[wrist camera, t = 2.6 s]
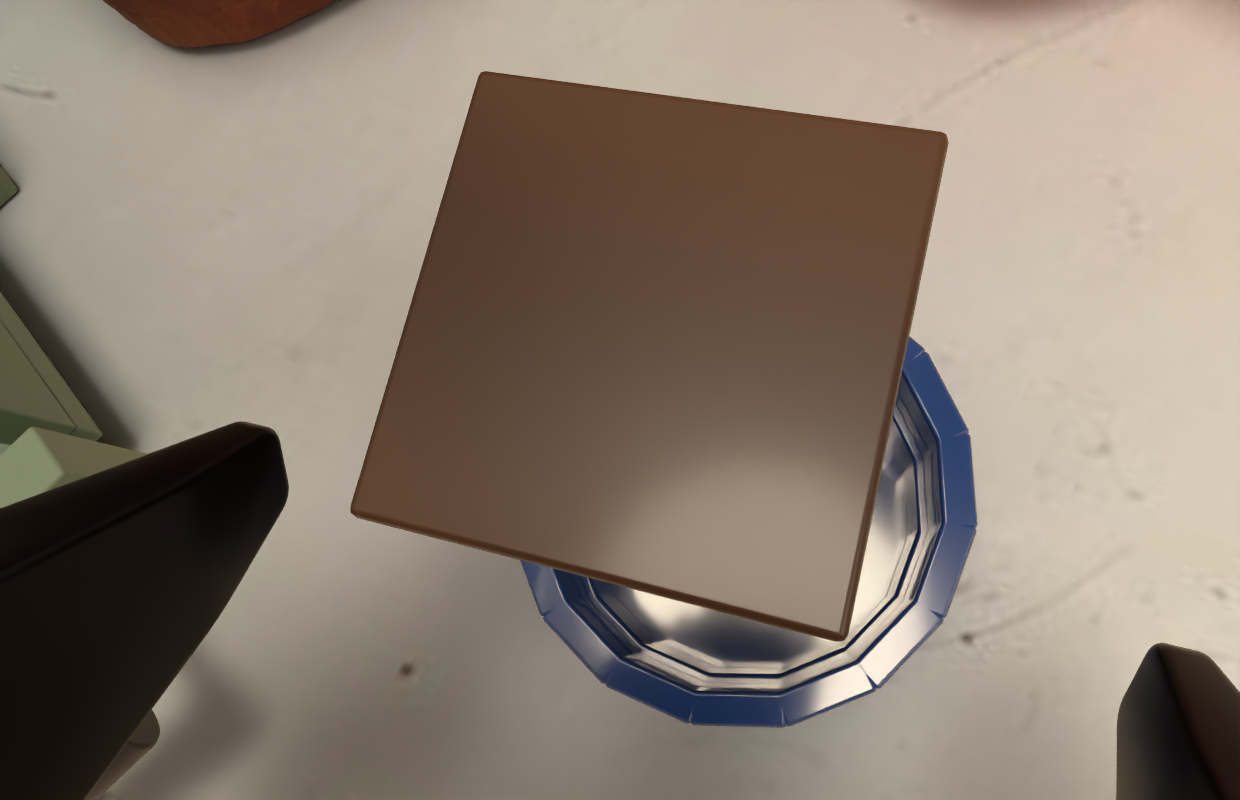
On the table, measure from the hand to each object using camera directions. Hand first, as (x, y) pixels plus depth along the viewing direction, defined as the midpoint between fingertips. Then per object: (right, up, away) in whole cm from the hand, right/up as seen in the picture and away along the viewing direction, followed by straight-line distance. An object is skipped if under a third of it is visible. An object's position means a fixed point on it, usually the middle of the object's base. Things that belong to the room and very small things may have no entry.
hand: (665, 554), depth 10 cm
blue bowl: (+2, -1, +9) cm, 9 cm away
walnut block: (+2, 0, +9) cm, 9 cm away
